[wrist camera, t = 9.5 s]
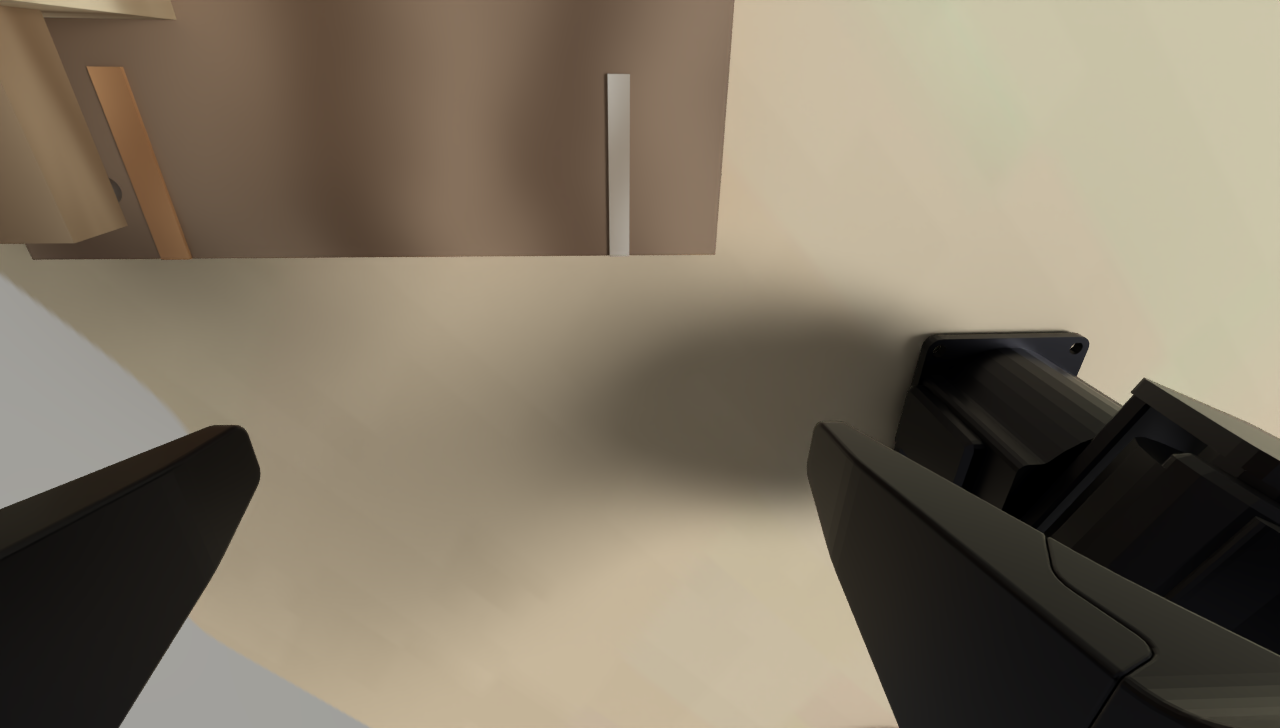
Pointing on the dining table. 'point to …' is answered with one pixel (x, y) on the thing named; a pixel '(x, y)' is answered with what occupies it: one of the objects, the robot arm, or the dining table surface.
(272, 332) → the dining table surface
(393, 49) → the walnut board
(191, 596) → the robot arm
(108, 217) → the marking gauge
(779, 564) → the dining table surface
